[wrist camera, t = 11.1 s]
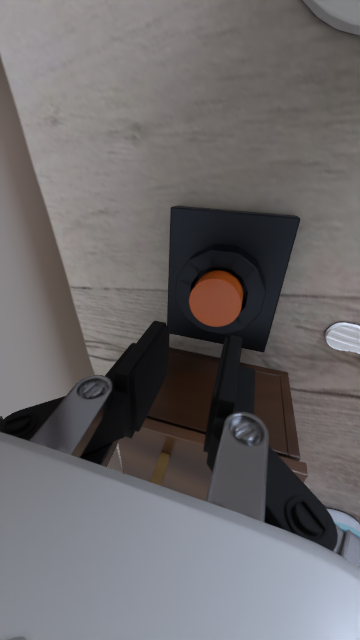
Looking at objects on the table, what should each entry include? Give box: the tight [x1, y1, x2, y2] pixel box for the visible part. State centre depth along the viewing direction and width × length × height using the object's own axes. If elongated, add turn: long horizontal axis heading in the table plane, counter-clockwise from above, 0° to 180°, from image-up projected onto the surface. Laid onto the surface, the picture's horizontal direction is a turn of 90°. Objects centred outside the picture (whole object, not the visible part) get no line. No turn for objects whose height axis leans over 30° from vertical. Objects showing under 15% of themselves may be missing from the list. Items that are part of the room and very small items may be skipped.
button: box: [189, 270, 243, 327], centre depth 18 cm, size 4×4×2 cm
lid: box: [118, 418, 308, 501], centre depth 18 cm, size 15×13×5 cm
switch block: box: [167, 206, 300, 352], centre depth 20 cm, size 11×9×4 cm
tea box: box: [146, 348, 300, 461], centre depth 25 cm, size 15×13×9 cm
